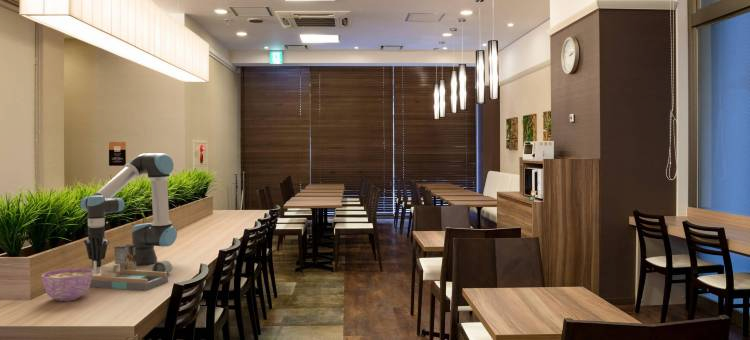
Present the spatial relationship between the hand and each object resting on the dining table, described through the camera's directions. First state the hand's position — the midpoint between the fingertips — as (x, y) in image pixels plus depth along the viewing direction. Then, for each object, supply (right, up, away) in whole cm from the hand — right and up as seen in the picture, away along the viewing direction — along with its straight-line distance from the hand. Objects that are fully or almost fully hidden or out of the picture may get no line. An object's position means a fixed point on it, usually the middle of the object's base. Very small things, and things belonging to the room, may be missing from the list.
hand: (96, 273), depth 264 cm
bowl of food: (+3, -6, -30) cm, 31 cm away
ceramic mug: (+25, -4, +16) cm, 30 cm away
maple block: (+8, -2, -2) cm, 8 cm away
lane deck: (+18, -5, -4) cm, 19 cm away
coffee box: (+8, -4, +14) cm, 16 cm away
